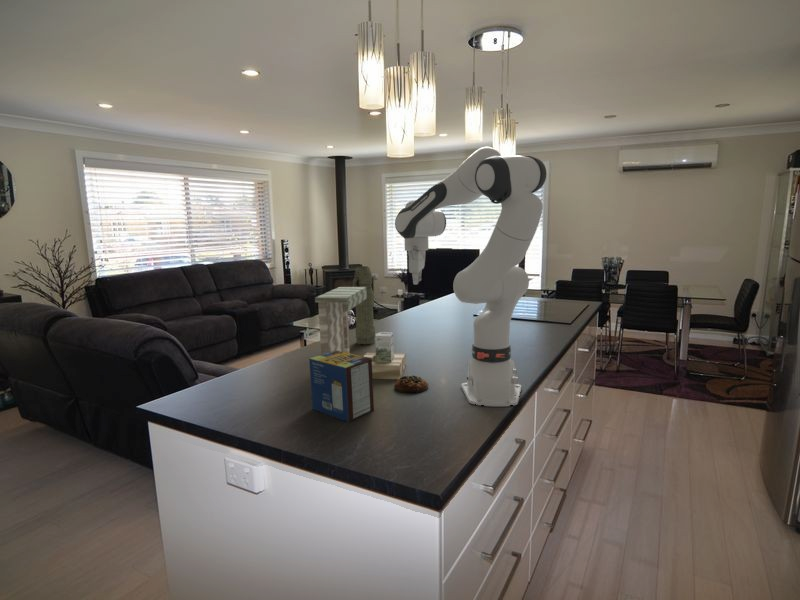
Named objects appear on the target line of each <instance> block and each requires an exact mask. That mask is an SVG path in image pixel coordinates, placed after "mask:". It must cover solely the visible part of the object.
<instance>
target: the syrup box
mask: <svg viewBox="0 0 800 600" xmlns="http://www.w3.org/2000/svg"><path fill="white" fill-rule="evenodd" d="M374 344H375V353H376V362H392V360H393V358H394V353H395V351H394V350H395V349H394V332H393V331H392V332H390V331H389V332H388V331H379V332H376V333H375V343H374Z"/></svg>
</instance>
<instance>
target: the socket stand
mask: <svg viewBox="0 0 800 600" xmlns="http://www.w3.org/2000/svg"><path fill="white" fill-rule="evenodd" d="M365 299H367V287H353V286H338V287H336V288H334V289H331V290H329V291H327V292H324V293H323V294H320V295H317V296H316V297H314V302H315V303H318V304H317V305H318V323H319V324H318V325H319V340H320V341H319V342H320V355H322V354H325V353H329V352H332V351H335V350H336V351H340V352H345V353H350V354H351V351H350V335H349V333H350V332H349V311H350V310H352V309H354V308H356V307H355V306H356V305H358V304H359V303H361V302H362V301H364V300H365ZM363 356H364V357H369V358H372V377H373V379H374V380H377V379H378V380H400V378H401V377H403V376H402V375H403V373H404V371H405V369H406V366H407V365H406V364H407V363H406V362H407V357H406V353H404V352H403V353H399V352H398V353H397V352H394V358H393V360H392V362H376V352H366V353H365V354H364V355H363Z"/></svg>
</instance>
